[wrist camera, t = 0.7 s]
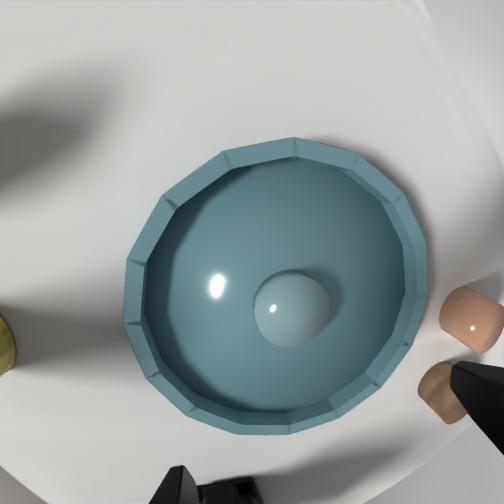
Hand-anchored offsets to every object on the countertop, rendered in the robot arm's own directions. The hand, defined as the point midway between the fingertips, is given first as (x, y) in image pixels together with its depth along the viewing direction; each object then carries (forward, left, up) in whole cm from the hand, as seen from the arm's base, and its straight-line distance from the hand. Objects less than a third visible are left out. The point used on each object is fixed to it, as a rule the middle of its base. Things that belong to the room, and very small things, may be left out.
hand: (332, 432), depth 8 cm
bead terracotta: (-7, -17, -13) cm, 22 cm away
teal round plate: (-1, -2, -13) cm, 13 cm away
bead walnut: (-14, -15, -13) cm, 24 cm away
